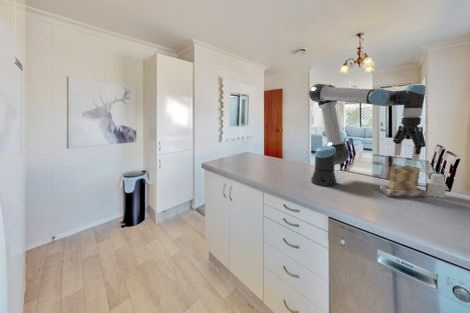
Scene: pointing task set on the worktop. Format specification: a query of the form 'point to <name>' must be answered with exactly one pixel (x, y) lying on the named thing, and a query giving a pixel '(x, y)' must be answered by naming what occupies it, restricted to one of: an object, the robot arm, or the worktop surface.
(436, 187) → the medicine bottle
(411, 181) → the door slab
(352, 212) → the worktop surface
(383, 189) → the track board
